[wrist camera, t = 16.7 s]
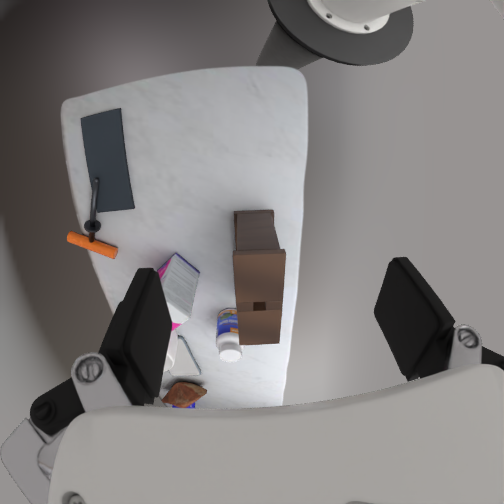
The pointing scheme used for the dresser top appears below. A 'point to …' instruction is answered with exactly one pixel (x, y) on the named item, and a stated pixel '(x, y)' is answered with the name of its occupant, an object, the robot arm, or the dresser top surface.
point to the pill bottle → (228, 336)
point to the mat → (107, 160)
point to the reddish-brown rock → (184, 394)
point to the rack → (258, 277)
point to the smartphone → (184, 361)
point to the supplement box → (179, 288)
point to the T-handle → (92, 230)
